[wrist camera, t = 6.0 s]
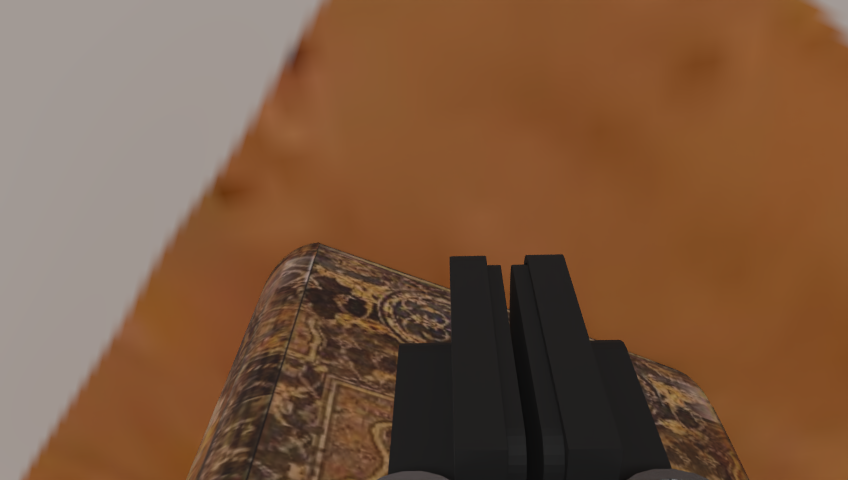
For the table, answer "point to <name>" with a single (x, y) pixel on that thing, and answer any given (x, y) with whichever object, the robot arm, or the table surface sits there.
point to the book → (376, 379)
